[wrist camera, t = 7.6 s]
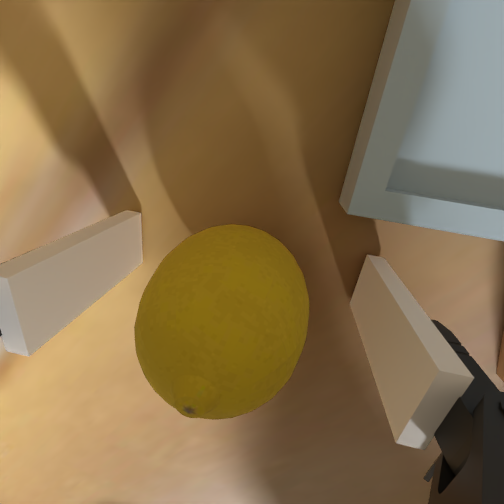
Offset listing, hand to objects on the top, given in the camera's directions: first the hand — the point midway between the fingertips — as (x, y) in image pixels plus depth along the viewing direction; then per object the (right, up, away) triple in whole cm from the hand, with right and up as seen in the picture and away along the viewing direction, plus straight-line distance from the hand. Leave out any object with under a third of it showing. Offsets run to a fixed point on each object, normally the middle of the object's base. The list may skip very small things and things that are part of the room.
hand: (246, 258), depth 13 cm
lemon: (0, 0, 0) cm, 0 cm away
